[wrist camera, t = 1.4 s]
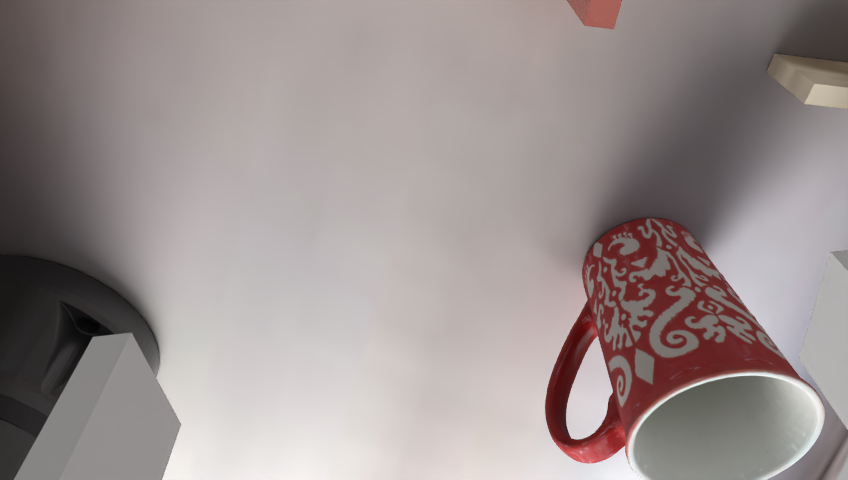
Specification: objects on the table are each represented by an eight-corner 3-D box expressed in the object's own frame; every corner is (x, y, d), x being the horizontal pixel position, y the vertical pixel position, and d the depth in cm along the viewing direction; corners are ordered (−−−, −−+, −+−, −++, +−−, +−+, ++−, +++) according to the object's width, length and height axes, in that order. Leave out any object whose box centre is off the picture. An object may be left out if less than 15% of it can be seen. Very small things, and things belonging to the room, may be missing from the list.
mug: (688, 177, 37) (804, 344, 26) (730, 280, 42) (843, 459, 31) (493, 266, 41) (524, 446, 30) (551, 353, 45) (596, 536, 34)
